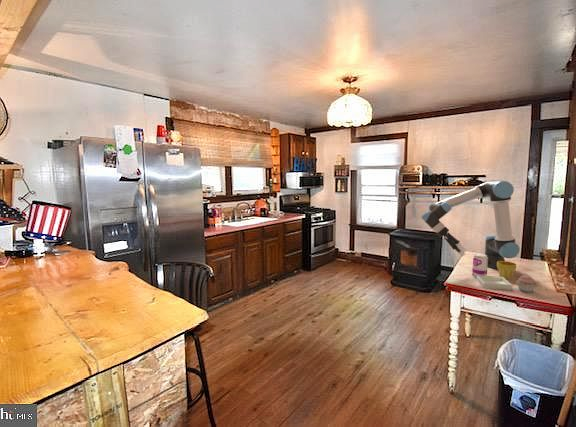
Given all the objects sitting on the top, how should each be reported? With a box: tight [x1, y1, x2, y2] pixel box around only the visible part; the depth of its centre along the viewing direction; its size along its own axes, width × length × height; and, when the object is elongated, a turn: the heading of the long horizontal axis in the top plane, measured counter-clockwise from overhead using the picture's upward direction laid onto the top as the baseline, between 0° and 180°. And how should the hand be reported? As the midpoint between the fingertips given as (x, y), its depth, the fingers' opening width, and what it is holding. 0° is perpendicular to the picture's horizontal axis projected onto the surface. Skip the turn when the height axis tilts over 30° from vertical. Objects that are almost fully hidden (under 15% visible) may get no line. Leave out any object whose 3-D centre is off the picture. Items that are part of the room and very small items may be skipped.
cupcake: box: [515, 273, 537, 293], centre depth 172 cm, size 9×9×10 cm
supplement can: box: [471, 253, 488, 279], centre depth 197 cm, size 8×8×15 cm
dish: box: [476, 275, 513, 291], centre depth 183 cm, size 15×15×3 cm
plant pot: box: [497, 260, 517, 280], centre depth 195 cm, size 10×10×10 cm
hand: (464, 253), depth 201 cm, fingers open, 13 cm apart
